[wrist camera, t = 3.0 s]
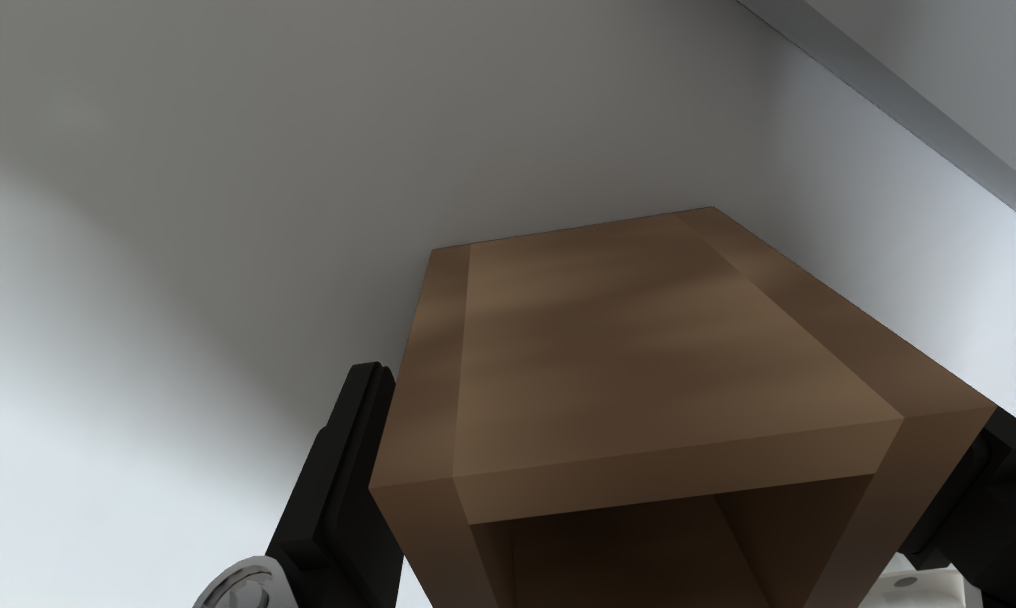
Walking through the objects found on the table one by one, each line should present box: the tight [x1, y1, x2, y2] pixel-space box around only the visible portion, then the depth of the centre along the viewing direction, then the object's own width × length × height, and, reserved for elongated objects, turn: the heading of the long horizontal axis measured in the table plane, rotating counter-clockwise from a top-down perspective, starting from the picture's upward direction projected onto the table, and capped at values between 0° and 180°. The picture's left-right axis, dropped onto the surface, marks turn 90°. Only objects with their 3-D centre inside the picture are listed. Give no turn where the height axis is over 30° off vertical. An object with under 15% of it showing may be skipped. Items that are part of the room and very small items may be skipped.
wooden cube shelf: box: [368, 207, 998, 608], centre depth 8 cm, size 6×6×6 cm
